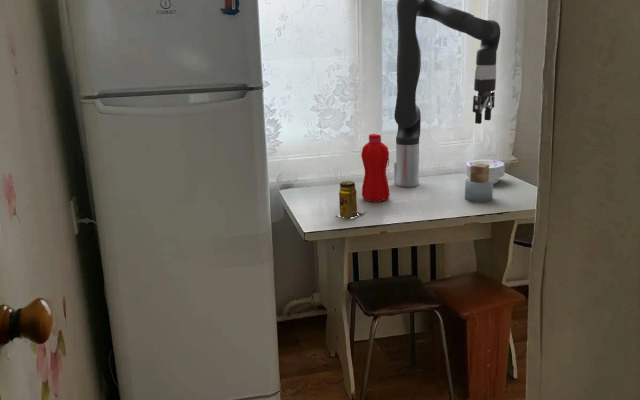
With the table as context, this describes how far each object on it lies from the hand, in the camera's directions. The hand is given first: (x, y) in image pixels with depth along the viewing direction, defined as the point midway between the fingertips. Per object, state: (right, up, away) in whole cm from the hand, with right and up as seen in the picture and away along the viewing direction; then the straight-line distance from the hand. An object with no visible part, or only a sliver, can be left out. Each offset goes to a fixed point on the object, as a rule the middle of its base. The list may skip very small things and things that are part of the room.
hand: (482, 121), depth 224 cm
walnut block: (-1, -22, -1) cm, 22 cm away
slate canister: (-1, -29, +1) cm, 29 cm away
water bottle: (-39, -29, +6) cm, 49 cm away
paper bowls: (+7, -22, +24) cm, 33 cm away
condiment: (-50, -35, -12) cm, 62 cm away
